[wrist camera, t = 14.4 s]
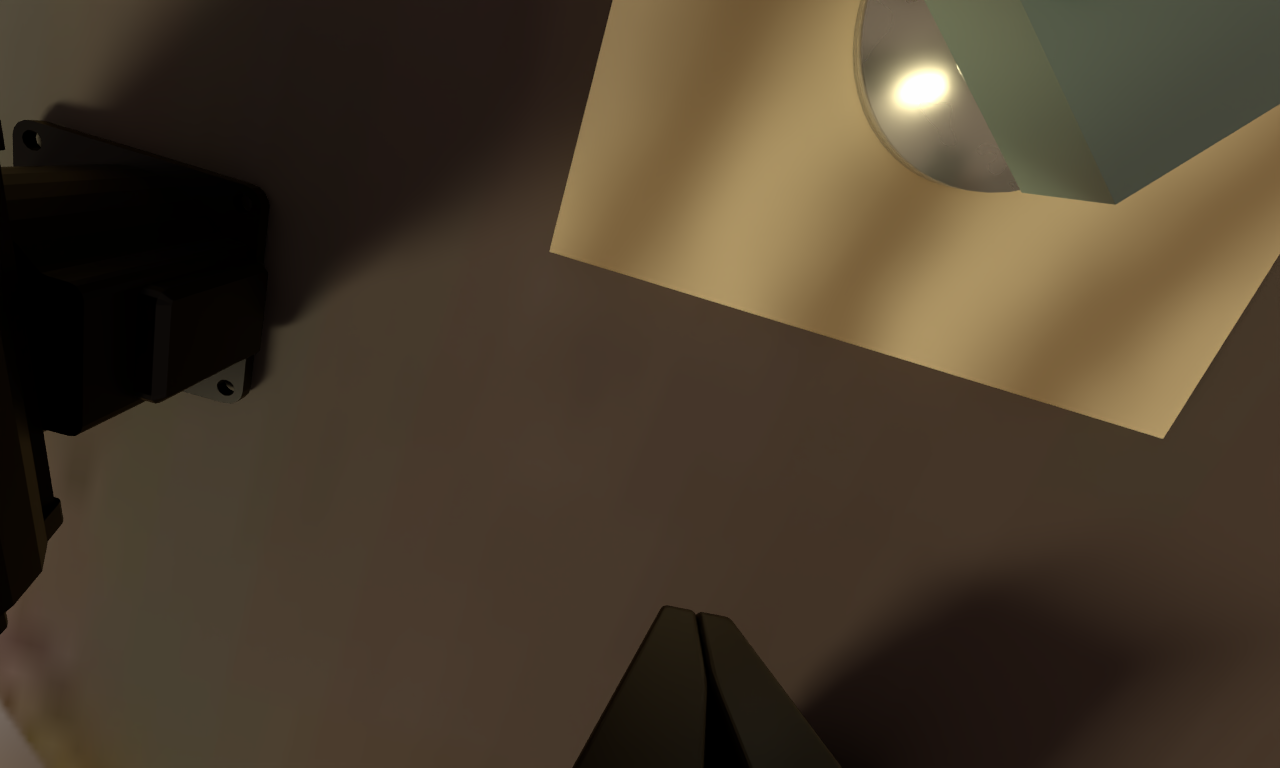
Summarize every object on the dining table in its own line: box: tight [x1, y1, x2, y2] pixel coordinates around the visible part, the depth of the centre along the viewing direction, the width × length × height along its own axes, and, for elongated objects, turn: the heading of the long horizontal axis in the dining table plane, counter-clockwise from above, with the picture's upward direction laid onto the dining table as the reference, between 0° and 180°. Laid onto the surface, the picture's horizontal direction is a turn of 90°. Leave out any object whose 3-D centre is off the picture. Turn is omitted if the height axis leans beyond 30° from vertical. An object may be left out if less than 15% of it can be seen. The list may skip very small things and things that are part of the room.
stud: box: [853, 0, 1020, 193], centre depth 14 cm, size 7×7×3 cm
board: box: [549, 0, 1280, 439], centre depth 16 cm, size 18×16×1 cm
